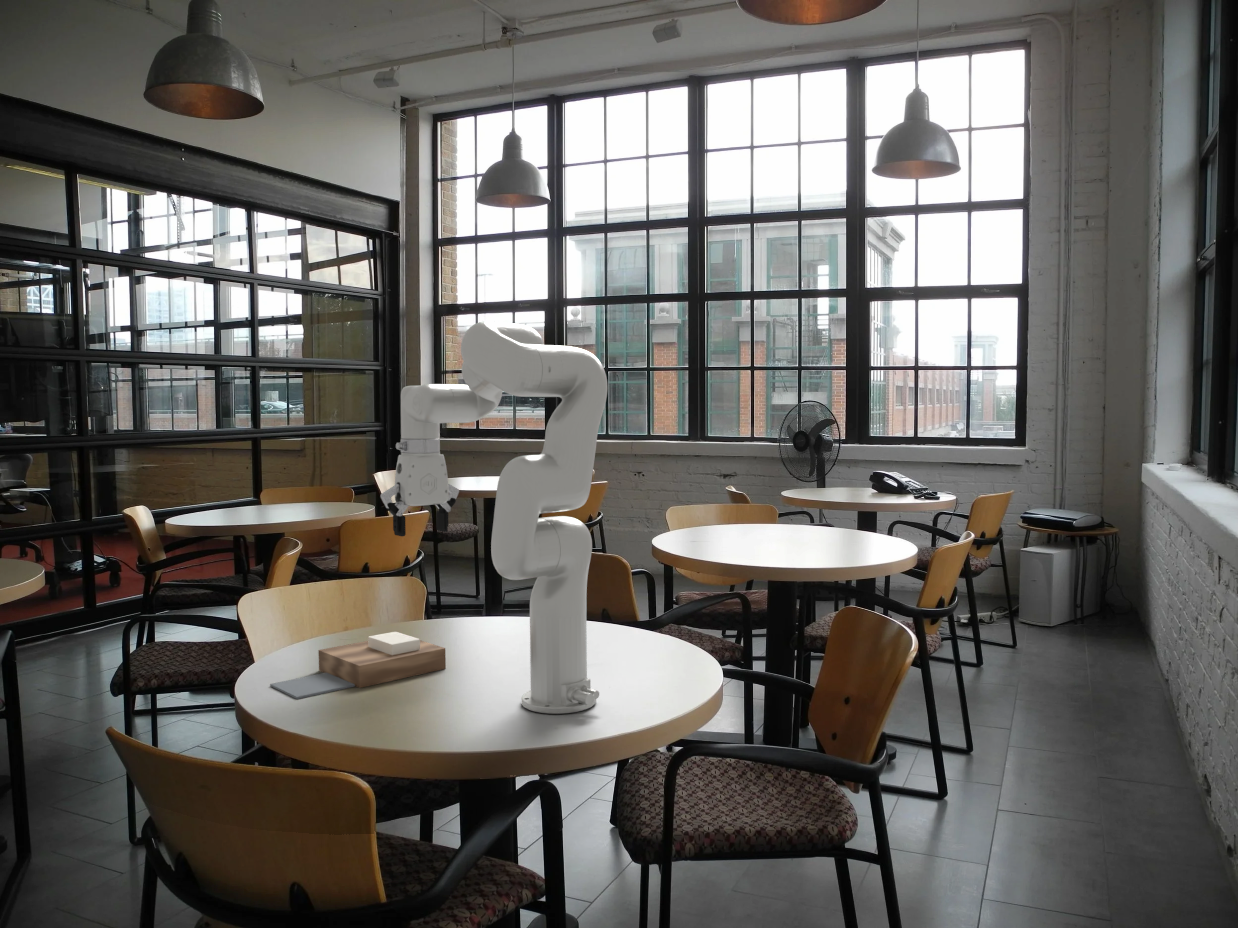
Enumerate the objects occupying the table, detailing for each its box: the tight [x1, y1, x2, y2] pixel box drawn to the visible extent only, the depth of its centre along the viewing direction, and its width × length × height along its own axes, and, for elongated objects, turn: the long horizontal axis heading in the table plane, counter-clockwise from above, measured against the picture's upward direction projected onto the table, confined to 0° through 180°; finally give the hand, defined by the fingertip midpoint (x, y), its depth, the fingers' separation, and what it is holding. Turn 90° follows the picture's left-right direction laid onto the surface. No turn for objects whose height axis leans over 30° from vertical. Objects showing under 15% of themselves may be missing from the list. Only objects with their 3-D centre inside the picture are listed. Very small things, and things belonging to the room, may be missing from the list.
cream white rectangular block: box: [367, 631, 421, 655], centre depth 181 cm, size 9×6×2 cm, turn 43°
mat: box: [269, 672, 356, 700], centre depth 169 cm, size 11×11×1 cm
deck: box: [318, 639, 447, 689], centre depth 180 cm, size 16×18×4 cm
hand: (421, 533), depth 188 cm, fingers open, 9 cm apart
